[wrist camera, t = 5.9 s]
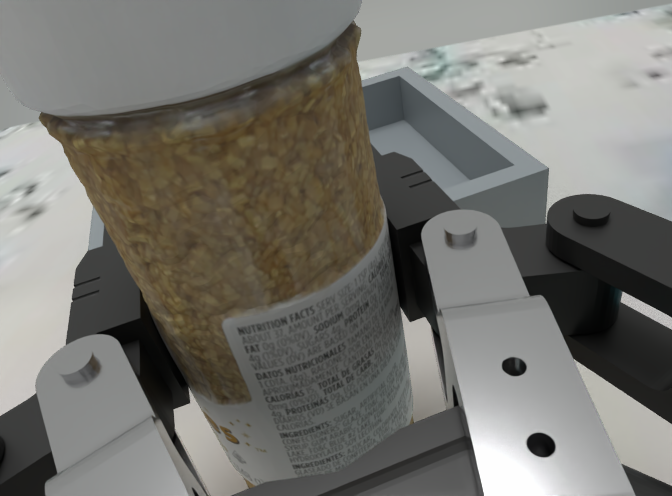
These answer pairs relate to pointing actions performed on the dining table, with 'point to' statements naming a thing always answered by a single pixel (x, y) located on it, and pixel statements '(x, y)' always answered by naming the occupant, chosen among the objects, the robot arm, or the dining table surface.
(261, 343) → the sprinkles bottle
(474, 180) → the box
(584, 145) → the dining table surface
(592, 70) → the dining table surface
